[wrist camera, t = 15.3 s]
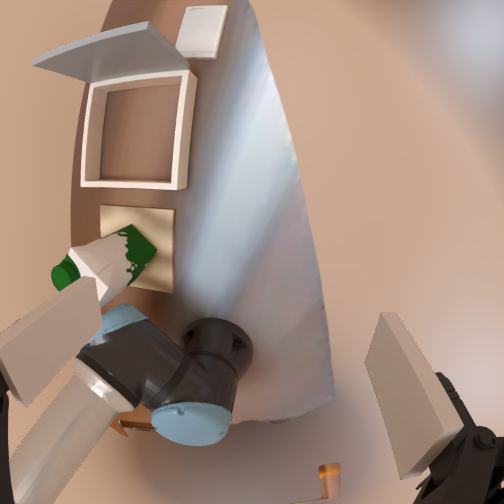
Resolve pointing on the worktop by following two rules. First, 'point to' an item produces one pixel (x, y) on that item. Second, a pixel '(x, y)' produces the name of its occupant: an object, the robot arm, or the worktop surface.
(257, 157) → the worktop surface
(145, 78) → the equipment case
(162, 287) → the wooden mat
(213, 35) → the hard drive
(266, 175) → the worktop surface
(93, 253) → the soya milk
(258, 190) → the worktop surface
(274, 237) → the worktop surface
